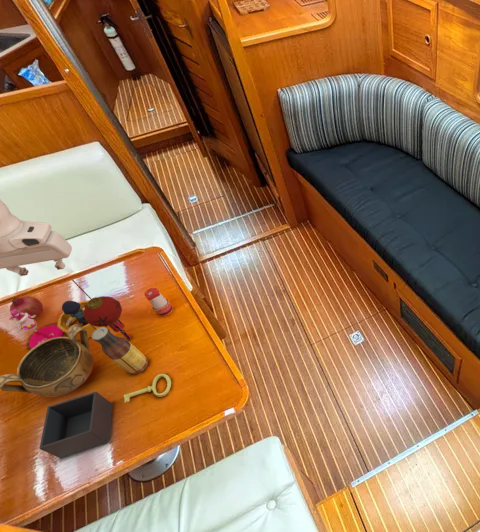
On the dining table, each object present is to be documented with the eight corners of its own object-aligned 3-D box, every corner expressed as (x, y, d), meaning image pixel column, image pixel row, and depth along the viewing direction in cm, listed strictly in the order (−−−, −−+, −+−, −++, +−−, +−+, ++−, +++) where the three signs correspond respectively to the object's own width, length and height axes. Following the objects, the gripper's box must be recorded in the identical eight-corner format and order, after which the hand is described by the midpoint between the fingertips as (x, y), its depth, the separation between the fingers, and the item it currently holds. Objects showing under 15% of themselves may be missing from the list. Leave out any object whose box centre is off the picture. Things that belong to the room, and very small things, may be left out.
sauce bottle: (148, 354, 125) (114, 318, 110) (149, 370, 121) (115, 336, 106) (125, 362, 123) (88, 328, 108) (126, 379, 119) (87, 345, 104)
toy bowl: (64, 345, 127) (54, 337, 123) (70, 314, 134) (61, 306, 131) (106, 333, 130) (98, 325, 126) (110, 304, 137) (102, 295, 134)
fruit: (51, 318, 134) (30, 300, 126) (22, 330, 130) (0, 313, 123) (47, 302, 138) (27, 284, 130) (20, 314, 134) (-2, 296, 127)
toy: (171, 301, 138) (151, 274, 127) (178, 316, 134) (158, 288, 123) (155, 309, 136) (133, 282, 125) (162, 324, 132) (140, 297, 121)
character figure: (98, 311, 135) (76, 290, 126) (105, 317, 134) (84, 295, 125) (71, 330, 130) (47, 309, 121) (78, 336, 129) (54, 315, 120)
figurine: (38, 356, 124) (3, 330, 113) (23, 341, 127) (-13, 315, 116) (69, 333, 130) (38, 307, 118) (54, 320, 133) (22, 293, 122)
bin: (61, 458, 104) (39, 448, 98) (67, 418, 111) (47, 406, 105) (109, 442, 107) (91, 431, 101) (112, 403, 114) (95, 391, 108)
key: (124, 398, 115) (120, 395, 113) (166, 372, 121) (163, 369, 119) (133, 416, 112) (129, 414, 110) (176, 388, 117) (173, 385, 116)
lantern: (144, 321, 133) (92, 262, 110) (145, 344, 127) (91, 286, 105) (113, 332, 130) (53, 273, 108) (113, 355, 124) (50, 298, 102)
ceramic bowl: (94, 337, 129) (65, 311, 117) (123, 364, 122) (96, 339, 111) (20, 391, 116) (-21, 367, 105) (48, 424, 110) (8, 403, 99)
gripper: (-44, 252, 99) (-2, 286, 110) (48, 237, 103) (79, 272, 113) (-33, 235, 103) (6, 269, 114) (55, 222, 107) (85, 256, 117)
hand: (43, 270), depth 114 cm, fingers open, 8 cm apart
